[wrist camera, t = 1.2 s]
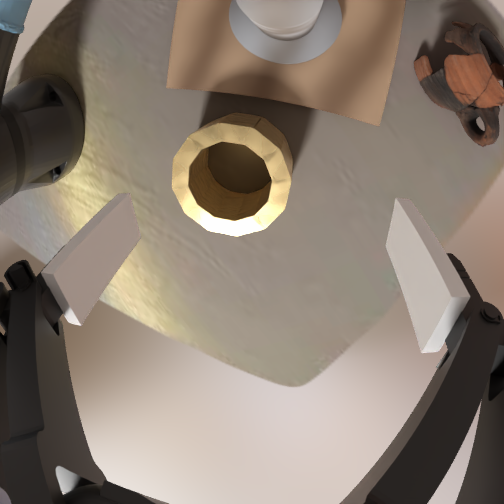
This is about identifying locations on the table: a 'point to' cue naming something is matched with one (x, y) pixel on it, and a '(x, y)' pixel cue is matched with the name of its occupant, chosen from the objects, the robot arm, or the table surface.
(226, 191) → the brass ring
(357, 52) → the stand
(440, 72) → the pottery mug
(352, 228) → the table surface
